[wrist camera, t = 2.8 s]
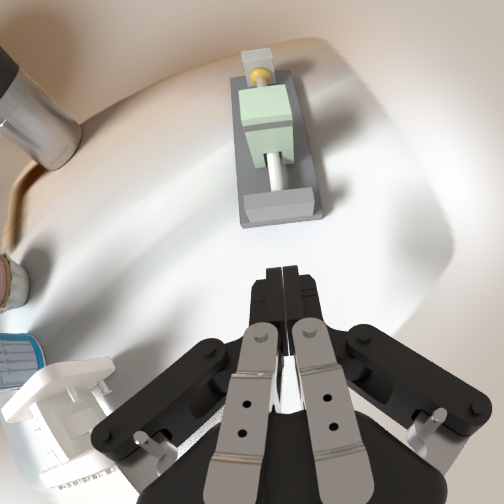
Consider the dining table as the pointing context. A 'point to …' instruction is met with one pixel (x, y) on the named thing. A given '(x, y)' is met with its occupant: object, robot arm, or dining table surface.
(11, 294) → the cupcake
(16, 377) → the beverage bottle
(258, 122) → the notched mint block
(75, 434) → the white plastic stand
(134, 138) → the dining table surface
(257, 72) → the grey slide rail
